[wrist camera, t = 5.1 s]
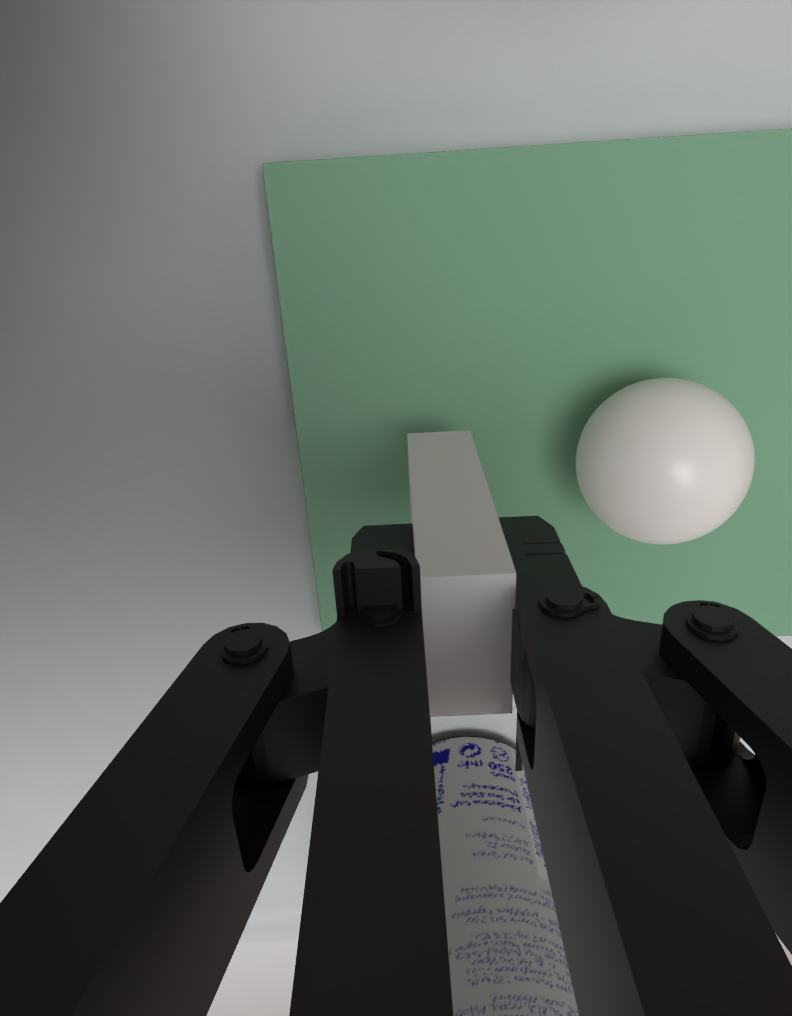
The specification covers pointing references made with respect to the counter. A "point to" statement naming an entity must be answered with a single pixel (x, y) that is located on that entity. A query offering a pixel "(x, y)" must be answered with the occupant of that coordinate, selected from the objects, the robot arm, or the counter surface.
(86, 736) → the counter surface
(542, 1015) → the beverage can
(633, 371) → the green mat
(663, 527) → the ball
